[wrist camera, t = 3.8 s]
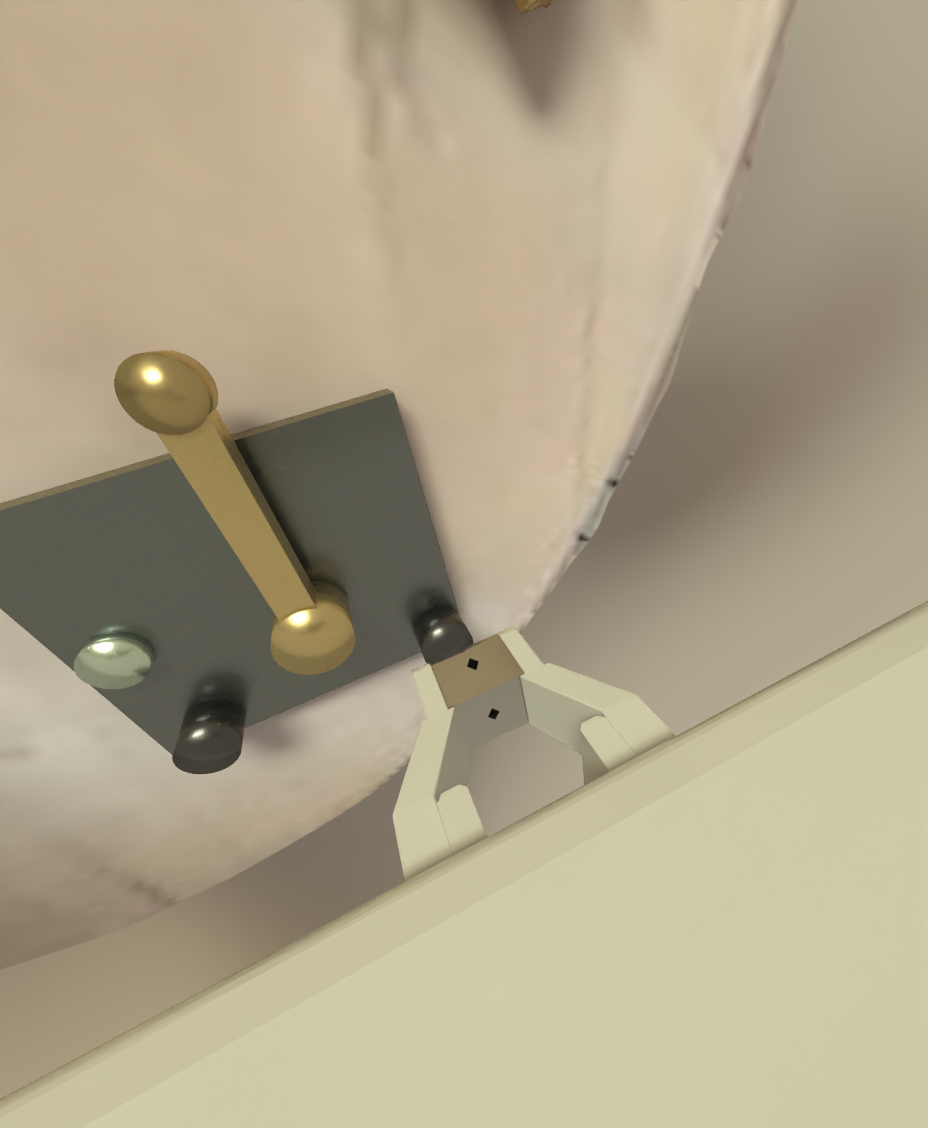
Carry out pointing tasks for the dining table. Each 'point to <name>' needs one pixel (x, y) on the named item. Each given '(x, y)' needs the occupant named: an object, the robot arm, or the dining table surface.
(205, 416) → the lever
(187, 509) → the base
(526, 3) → the seashell
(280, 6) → the dining table surface
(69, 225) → the dining table surface
